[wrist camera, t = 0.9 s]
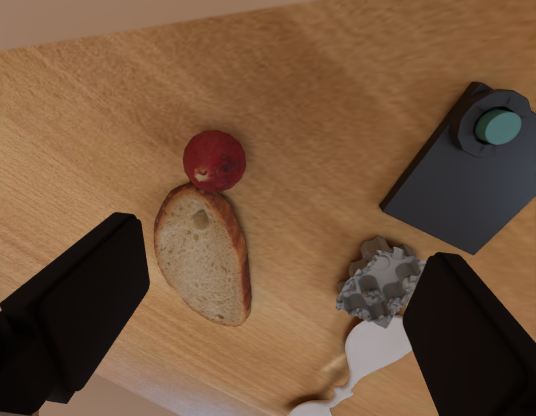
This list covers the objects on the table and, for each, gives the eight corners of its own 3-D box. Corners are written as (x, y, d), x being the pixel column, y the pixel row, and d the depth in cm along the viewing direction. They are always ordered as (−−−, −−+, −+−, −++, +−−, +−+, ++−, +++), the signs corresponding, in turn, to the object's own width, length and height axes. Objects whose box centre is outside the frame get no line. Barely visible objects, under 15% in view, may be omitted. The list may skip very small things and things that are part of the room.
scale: (471, 77, 25) (493, 78, 22) (578, 138, 26) (611, 146, 23) (376, 205, 31) (384, 217, 28) (466, 248, 32) (482, 264, 30)
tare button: (490, 103, 23) (503, 106, 22) (515, 117, 23) (529, 121, 22) (467, 132, 24) (478, 136, 23) (491, 145, 25) (503, 150, 23)
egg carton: (369, 228, 33) (378, 248, 29) (425, 250, 33) (441, 273, 30) (327, 291, 37) (331, 315, 34) (378, 309, 38) (386, 335, 34)
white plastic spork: (277, 410, 51) (276, 432, 48) (371, 294, 37) (377, 314, 34) (321, 425, 52) (323, 447, 49) (430, 317, 38) (442, 339, 35)
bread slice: (237, 326, 42) (232, 348, 39) (128, 266, 39) (112, 285, 35) (312, 248, 34) (313, 268, 31) (184, 166, 31) (171, 178, 28)
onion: (248, 122, 28) (232, 141, 21) (252, 176, 31) (239, 208, 24) (193, 124, 29) (159, 143, 22) (202, 177, 32) (174, 209, 24)
